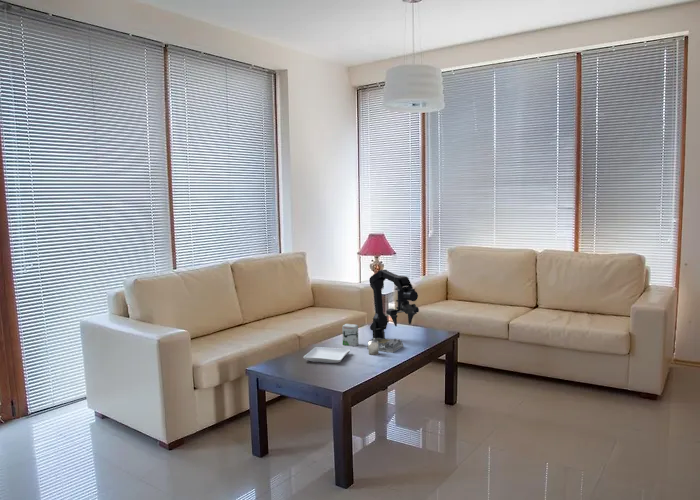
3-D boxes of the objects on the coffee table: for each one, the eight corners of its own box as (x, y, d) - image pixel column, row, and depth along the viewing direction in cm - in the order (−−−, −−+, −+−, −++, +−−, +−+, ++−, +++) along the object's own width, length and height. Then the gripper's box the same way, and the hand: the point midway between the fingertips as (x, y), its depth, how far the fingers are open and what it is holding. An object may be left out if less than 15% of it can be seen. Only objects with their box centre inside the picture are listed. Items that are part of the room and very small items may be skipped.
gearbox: (367, 349, 310) (367, 341, 310) (378, 343, 323) (378, 335, 322) (392, 352, 303) (392, 344, 302) (402, 346, 315) (402, 338, 314)
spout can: (366, 354, 301) (366, 339, 300) (371, 351, 306) (371, 337, 305) (375, 355, 298) (375, 340, 297) (380, 353, 303) (379, 338, 302)
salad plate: (351, 354, 303) (351, 348, 303) (340, 365, 283) (340, 359, 282) (315, 352, 309) (315, 346, 308) (302, 363, 288) (302, 357, 288)
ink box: (342, 345, 321) (341, 325, 320) (345, 342, 326) (344, 323, 324) (355, 346, 318) (355, 326, 317) (358, 344, 322) (358, 324, 321)
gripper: (395, 302, 297) (396, 330, 299) (424, 299, 305) (424, 326, 307) (385, 299, 307) (386, 326, 309) (413, 296, 315) (413, 322, 317)
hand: (402, 325), depth 310 cm, fingers open, 9 cm apart
